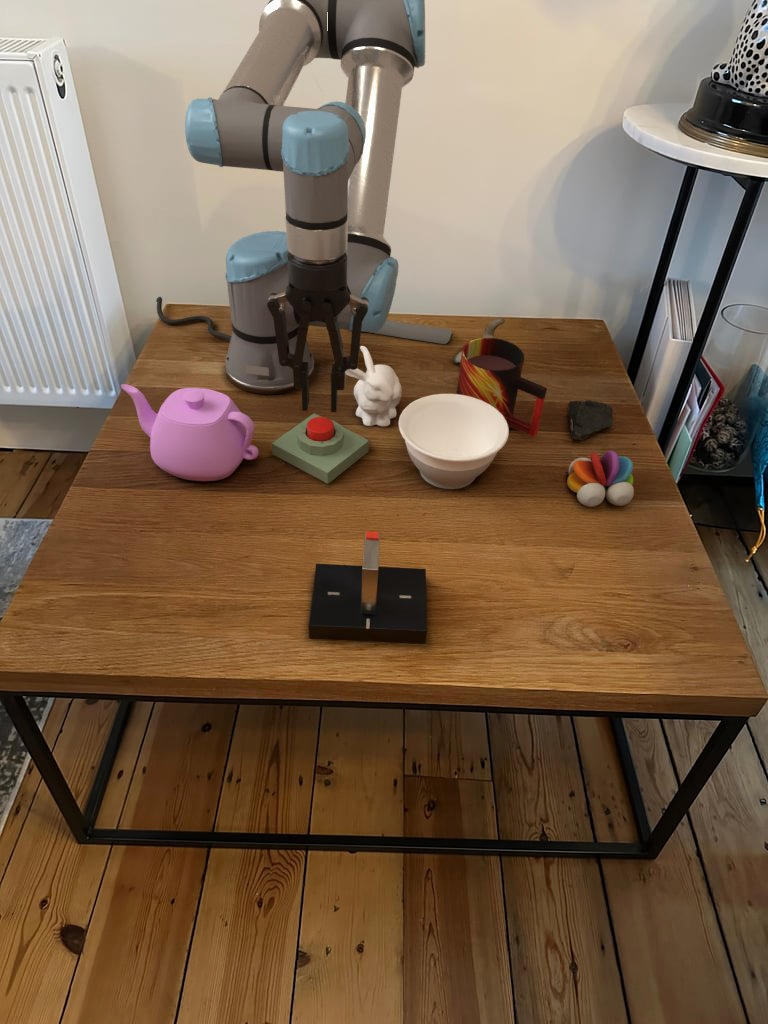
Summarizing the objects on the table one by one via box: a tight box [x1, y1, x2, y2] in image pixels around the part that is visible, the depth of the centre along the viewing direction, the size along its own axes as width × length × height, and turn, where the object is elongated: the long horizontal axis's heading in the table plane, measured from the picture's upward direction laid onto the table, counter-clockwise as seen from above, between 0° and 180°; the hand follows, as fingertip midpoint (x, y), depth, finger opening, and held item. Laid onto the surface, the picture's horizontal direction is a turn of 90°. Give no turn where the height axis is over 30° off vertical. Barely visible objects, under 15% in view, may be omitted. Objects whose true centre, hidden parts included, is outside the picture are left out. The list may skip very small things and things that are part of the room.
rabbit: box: [345, 345, 402, 427], centre depth 122 cm, size 12×9×12 cm
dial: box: [361, 531, 381, 615], centre depth 91 cm, size 6×2×8 cm, turn 178°
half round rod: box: [362, 319, 453, 345], centre depth 144 cm, size 4×20×2 cm, turn 77°
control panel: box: [308, 563, 428, 644], centre depth 94 cm, size 14×10×3 cm
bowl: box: [397, 393, 510, 490], centre depth 113 cm, size 16×16×9 cm
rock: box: [567, 399, 614, 441], centre depth 123 cm, size 9×7×5 cm
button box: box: [271, 412, 370, 485], centre depth 116 cm, size 11×10×4 cm
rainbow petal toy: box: [566, 450, 635, 508], centre depth 111 cm, size 8×10×7 cm
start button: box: [307, 416, 334, 442], centre depth 114 cm, size 4×4×2 cm
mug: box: [456, 337, 548, 438], centre depth 122 cm, size 10×14×12 cm
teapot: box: [120, 383, 259, 482], centre depth 111 cm, size 20×13×12 cm, turn 78°
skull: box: [453, 317, 506, 364], centre depth 137 cm, size 10×12×6 cm
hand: (320, 405), depth 111 cm, fingers open, 3 cm apart
